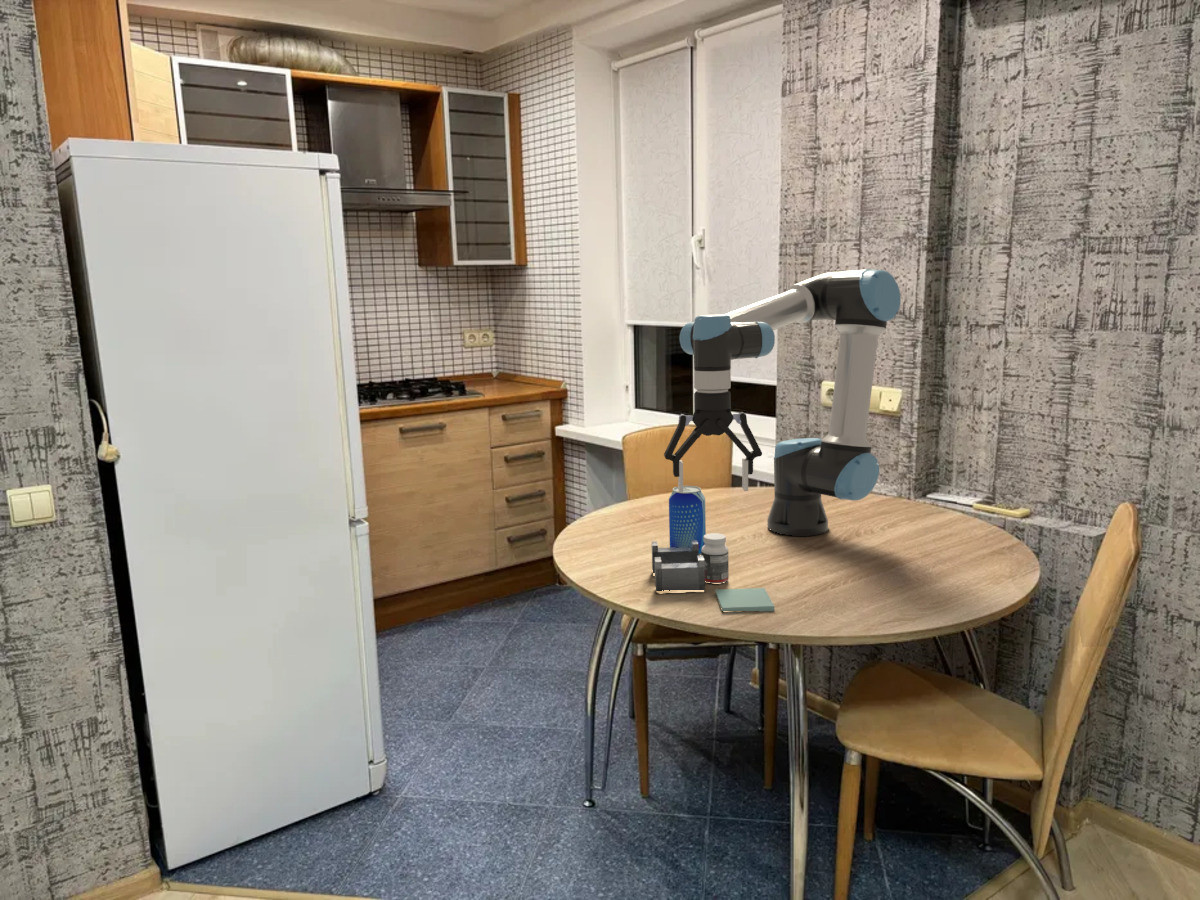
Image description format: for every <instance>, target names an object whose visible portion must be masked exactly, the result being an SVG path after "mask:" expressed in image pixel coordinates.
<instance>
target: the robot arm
mask: <svg viewBox="0 0 1200 900" xmlns="http://www.w3.org/2000/svg"><path fill="white" fill-rule="evenodd" d="M900 291H901V290H900V287H899V285H898V282H897V281H896V278H895V277H894V275H892V274H891V273H890V272H888V271H886V270H884V269H883V270H882V269H869V268H865V269H856V270H843V271H841V270H839V271H838V270H837V271H835V270H834V271H828V272H825V273H821V274H819V275H816V276H813V277H810V278H807V279H805V280H803V281H800V282H797V283H794V284H792V285H790V286H789V287H787V289H786V290H785V291H784V292H781V293H780V294H776V295H773V296H770V297H768V298H766V299H762V300H760V301H757V302H755V303H751V304H749V305H747V306H743V307H740V308H738V309H736V310H735V309H734V310H732V311H730V312H728V313H725V314H702V315H698V316H695V318H694V320H693V321H690V322H687V323H686V324H685V325H683V327H682V328H681V330H680V333H679V344H680V347H681V349H682V351H683V352H684V353H686V354H688V355H692V356H693V389H695V390H696V391H695V392H694V393H693V404H694V405H693V414H692V415H691V414H690V415H689V414H688V415H687V414H684V413H680V414H679V415H678V422H677V423H678V424H677V426H676V428H675V430H674V432H673V435H672V436H671V438H670V440H669V443H668V445H667V447H666V449H665V452H664V454H663V456H664V458H665V460H669V461H672V474H673V476H674V478H677V479H678V480H677V482H678V483H677V485H678V486H677V487H678V490H679V493H683V486H684V462H683V460H682V458H684V456H685V454H686V453H687V452H688V451H689V450H690V448H691V447H692V446H693V445H694V444H695V442H696V441H697V440H698V439H699V438H700V437H701V436H702V435H704V436H706V437H707V436H708V437H709V436H721V435H723V434H724V433H725V435H726V436H728V438H729V439H730V440H731V441H732V442H733V444H734V445H735V446H736V447H737V448H738V449H739V450H740V452H741V453H742V454H743V455H744V456H745V457H742V459H741V460H742V461H741V464H742V465H741V466H742V467H741V470H742V471H741V478H742V479H741V480H742V481H741V486H742V487H741V488H742V490H743V491H744V492H748V491H749V475H753V473H754V460H755V459H756V458H758V457H761V456H762V455H763V452H762V450H761V448H760V446H759V443H758V442H757V440H756V438H755V436H754V434H753V432H752V430H751V428H750V426H749V424H748V420H747V418H748V417H747V414H746V413H744V412H743V411H739V412H738V413H732V406H731V405H732V403H731V402H732V401H731V399H732V397H731V396H732V394H731V391H730V390H729V389H731V386H732V385H731V382H732V381H731V380H732V377H731V375H732V374H731V373H732V371H731V368H732V367H731V365H732V364H731V362H732V361H733V360H740V359H758V358H761V357H765V356H767V355H769V354H770V353H771V352H772V351H773V350H774V347H775V343H776V339H775V337H776V336H775V332H774V331H776V330H779V329H780V328H783V327H785V326H789V325H791V324H793V323H798V324H805V323H808V322H812V321H819V320H820V321H822V320H829V321H830V320H831V321H833V320H834V327H835V328H836V330H837V331H838V332H839V334H840V336H839V344H838V352H837V362H836V368H835V370H836V371H835V377H834V378H835V379H834V388H833V393H832V403H831V412H830V419H829V427H828V434H826V436H824V437H823V438H822V439H821V438H819V437H818V438H817V437H807V438H806V437H805V438H804V437H803V438H793V439H788V440H783V441H779V442H778V443H777V444H775V448H774V457H773V475H774V476H773V477H774V478H773V479H774V480H773V482H774V484H773V485H774V486H773V487H774V497H773V498H774V499H773V502H772V506H771V507H770V511H769V513H768V517H767V523H766V525H767V526H768V527H767V529H768V528H769V529H771V530H772V531H774V532H773V533H775V532H777V533H776V534H778V533H781V534H780V535H782V534H785V536H789V535H792V537H793V536H794V537H810V536H811V537H812V536H818V535H823V534H824V533H826V532H827V531H829V520H828V517H827V516H828V515H827V514H826V510H825V507H824V504H823V502H822V500H823V499H822V495H823V496H828V497H831V498H832V497H833V498H837V499H839V500H841V501H844V500H846V501H853V502H854V501H860V500H863V499H865V498H866V497H868V496H869V494H870V493H871V492H872V491H873V490H874V488H875V486H876V484H877V482H878V479H879V475H880V464H879V463H878V462H879V459H878V458H877V457H876V456H875V455H874V454H872V453H871V452H872V444H871V443H870V442H869V440H868V439H867V431H868V423H869V415H870V407H871V400H872V399H871V398H872V390H873V382H874V381H873V380H874V372H875V364H876V358H877V349H878V348H877V347H878V342H879V341H878V340H879V337H880V335H882V334H883V333H884V332H885V331H887V324H888V322H889V321H891V320H893V319H894V318H895V317H896V316H897V314H898V312H899V310H900V306H901V301H902V300H901V292H900ZM731 360H732V361H731ZM733 421H735V422H736V424H739V426H740V427H741V430H742V432H743V433H744V435H745V438H746V439H747V441H748V443H749V445H750V447H751V448H752V450H751V451H750V450H749V449H748V448H747V447H746V446H745V444H744V443H743V442H742V441H741V440H740V438H738V437H737V436H736V434H735V433H734V431H732V430H731V428H729V427H730V425H731V424H732V422H733ZM691 422H692V423H694V425H695V428H694V429H693V430H692V432H691V433H690V435H689V436H688V437H687V438H686V439H685V440H684V442H683V443H682V444H681V445H680V446H679V448H678V449H677V450H676V447H677V446H678V443H679V441H680V439H681V437H682V435H683V433H684V431H685V428H686V427H687V426H689V425H690V423H691ZM675 450H676V452H675ZM674 452H675V453H674ZM769 529H768V530H769ZM772 531H771V532H772Z"/></svg>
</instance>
